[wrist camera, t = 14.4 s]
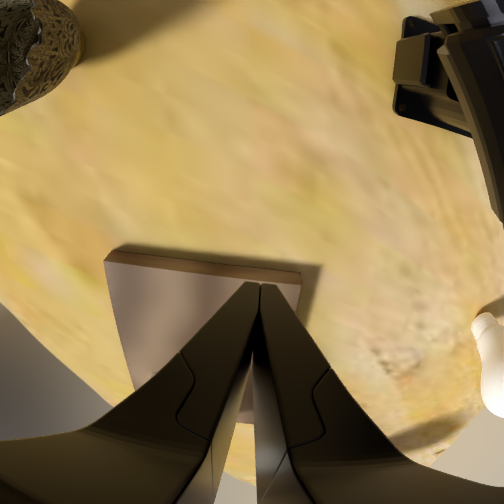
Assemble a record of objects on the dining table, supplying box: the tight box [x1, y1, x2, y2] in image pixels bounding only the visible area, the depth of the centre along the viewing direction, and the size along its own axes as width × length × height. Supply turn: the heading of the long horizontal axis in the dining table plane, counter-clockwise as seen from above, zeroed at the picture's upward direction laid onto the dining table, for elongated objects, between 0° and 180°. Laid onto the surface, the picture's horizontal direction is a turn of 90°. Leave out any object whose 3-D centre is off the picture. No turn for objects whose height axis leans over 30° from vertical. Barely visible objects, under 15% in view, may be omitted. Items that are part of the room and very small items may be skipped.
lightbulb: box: [471, 312, 504, 418], centre depth 19 cm, size 6×6×11 cm
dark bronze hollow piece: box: [0, 0, 84, 116], centre depth 12 cm, size 7×7×8 cm
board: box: [103, 251, 302, 424], centre depth 27 cm, size 14×19×2 cm
